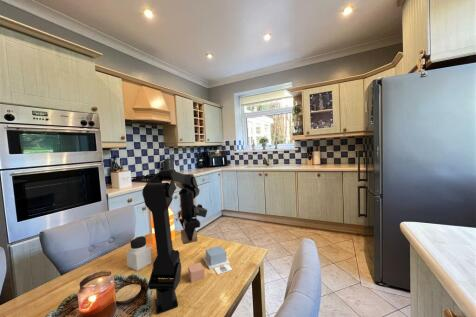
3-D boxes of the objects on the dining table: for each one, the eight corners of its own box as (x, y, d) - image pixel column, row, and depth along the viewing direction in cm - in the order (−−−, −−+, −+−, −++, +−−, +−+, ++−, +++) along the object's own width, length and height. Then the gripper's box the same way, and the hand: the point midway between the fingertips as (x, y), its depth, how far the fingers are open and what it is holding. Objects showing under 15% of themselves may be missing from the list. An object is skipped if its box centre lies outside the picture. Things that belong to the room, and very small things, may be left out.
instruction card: (232, 269, 82) (232, 268, 82) (217, 274, 80) (217, 273, 80) (228, 264, 86) (228, 263, 86) (214, 268, 84) (214, 267, 84)
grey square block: (229, 263, 87) (229, 252, 87) (209, 269, 83) (209, 258, 83) (222, 254, 95) (221, 244, 95) (203, 259, 91) (203, 248, 91)
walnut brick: (197, 241, 88) (196, 232, 87) (183, 244, 85) (182, 235, 85) (194, 236, 93) (194, 227, 93) (181, 238, 91) (180, 230, 91)
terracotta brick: (204, 278, 78) (204, 268, 78) (191, 283, 75) (191, 272, 75) (200, 272, 82) (200, 262, 82) (188, 276, 80) (187, 266, 80)
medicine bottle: (152, 262, 90) (150, 236, 90) (137, 271, 84) (135, 243, 84) (142, 258, 94) (140, 233, 94) (127, 266, 88) (125, 239, 87)
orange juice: (167, 245, 107) (165, 207, 106) (152, 244, 109) (150, 207, 108) (175, 238, 114) (173, 203, 113) (161, 237, 116) (159, 203, 115)
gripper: (211, 204, 83) (213, 241, 84) (199, 196, 100) (201, 227, 101) (184, 209, 79) (186, 248, 79) (176, 199, 96) (178, 231, 96)
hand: (189, 237), depth 89 cm, fingers closed on walnut brick, 6 cm apart
